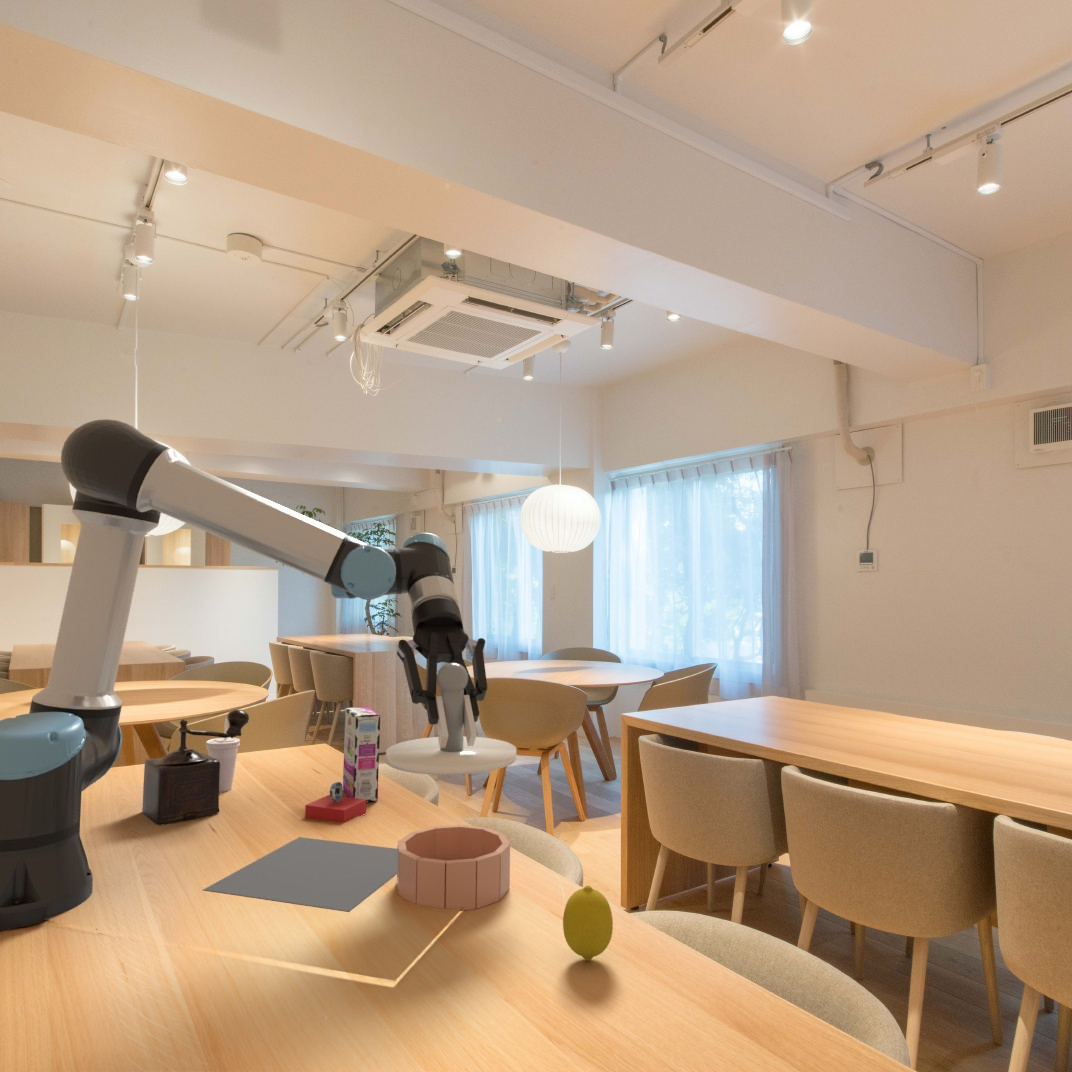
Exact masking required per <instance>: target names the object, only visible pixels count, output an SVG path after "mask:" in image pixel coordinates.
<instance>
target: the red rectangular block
mask: <svg viewBox="0 0 1072 1072" xmlns="http://www.w3.org/2000/svg"><path fill="white" fill-rule="evenodd" d="M343 792H344V790H343V783H341V782H340V781H336V782H333V783H332V784H331V786H330V788H329V794H328V795H326V796H323V797H321V798H319V799H317V800H314V801H312V802H309V803H307V804H305V807H304V809H305V810H304V817H305V818H308V819H314V820H315V819H317V820H323V821H331V822H339V823H346V822H347V821H349V820H353V818H355V817H362V816H361V815H363V814H365V813H366V814H367V802H366V800H365V799H357V798H349V797H348V796H343ZM366 814H365V815H366ZM363 816H364V815H363Z"/></svg>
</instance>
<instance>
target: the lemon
mask: <svg viewBox="0 0 1072 1072" xmlns="http://www.w3.org/2000/svg"><path fill="white" fill-rule="evenodd" d="M613 924H614V922H613V913H612V909H611V906H610V903H609V901H608V899H607V897H606V896H605V895H604V894H602V893H601V892H600V891H598V889H595V888H592V886H591V885H585V886H584V887H583V888H580V889H577V890H576V891H574V892H573V893H572V894H571V895H570V896H569V898H568V899H567V902H566V904H565V907H564V910H563V917H562V929H563V935H564V938H565V941H566V943H567V945H568V947H569V949H571V951H573V953H575V954H577V955H578V956H580V957H582V958H583V960H584V961H586V962H589V961H591V960H592V959H593V958H594V957H597V956H599V955H601V954H602V953H604V951H605V950H606V949H607V948H608V946H609V944H610V943H611V939H612V936H613V929H614V928H613Z"/></svg>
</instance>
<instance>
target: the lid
mask: <svg viewBox="0 0 1072 1072" xmlns="http://www.w3.org/2000/svg"><path fill="white" fill-rule="evenodd" d="M468 673H469V672H468ZM468 673H467V671H466V669H465V668H464V667H463V666H462V665H460V664H458V663H445V664H444V665H442V666H441V667H440V669H439V670H438V671H437V681H436V685H437V686H438V687H439V689H440V696H442V700H443V706H444V712H445V718H446V724H447V730H448V740H447V743H446V747H445V748H440V746H439V740H438V736H433V737H424V738H423V737H422V738H416V739H411V740H406V741H401V742H399V743H398V742H397V743H395V744H393V745H391V746H389V747H388V748H387V749H386V751H385V763H386V765H388V766H389V767H391V768H393V769H395V770H398V771H402V772H406V773H407V772H408V773H414V774H420V775H421V774H422V775H432V776H433V775H437V776H439V775H441V776H448V775H449V776H455V775H470V774H478V773H479V774H481V773H485V772H491V771H496V770H500V769H503V768H507V767H508V766H511V765H512V764H514V763H515V762H516V761H517V747H516V746H515V745H514V744H512V743H511V742H508V741H505V740H500V739H495V738H491V737H484V736H483V737H481V736H480V737H479V736H476V739H475V742H474V745H473V746H468V744H467V739H466V735H464V732H465V728H464V689H465V687H466V686H467V683H468Z"/></svg>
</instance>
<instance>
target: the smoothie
mask: <svg viewBox="0 0 1072 1072" xmlns="http://www.w3.org/2000/svg"><path fill="white" fill-rule="evenodd" d="M228 728H229V722H228V719H227V718H225V719H224V731H223V733H226V731H227V730H228ZM240 741H241V739H240V738H237V737H233V738H231V737H228V738H222V737H215V738H212V739H208V740H206V742H205V748H206V749H207V755H208V756H210V757H213V758H215V759H217V760H218V761H220V777H219V793H224V792H228V791H231V790H232V788H233V782H234V776H235V775H234V774H235V768H236V762H237V755H238V751H239V746H240V745H241V742H240Z"/></svg>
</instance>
